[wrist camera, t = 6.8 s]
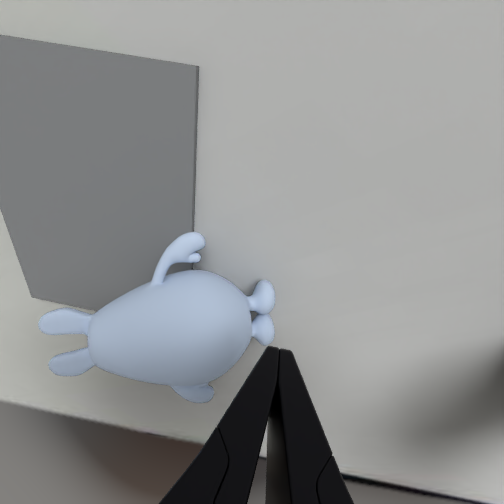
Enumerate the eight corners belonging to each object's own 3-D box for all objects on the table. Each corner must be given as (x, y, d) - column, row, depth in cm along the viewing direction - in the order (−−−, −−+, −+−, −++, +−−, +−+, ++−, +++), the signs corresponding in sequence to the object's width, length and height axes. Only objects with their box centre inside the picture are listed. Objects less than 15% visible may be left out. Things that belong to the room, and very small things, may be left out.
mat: (198, 66, 12) (196, 65, 12) (190, 326, 21) (189, 330, 20) (-56, 26, 13) (-66, 24, 13) (36, 294, 21) (31, 297, 21)
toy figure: (258, 217, 18) (46, 228, 15) (298, 239, 13) (-28, 265, 10) (258, 356, 21) (82, 388, 18) (290, 425, 16) (41, 489, 13)
